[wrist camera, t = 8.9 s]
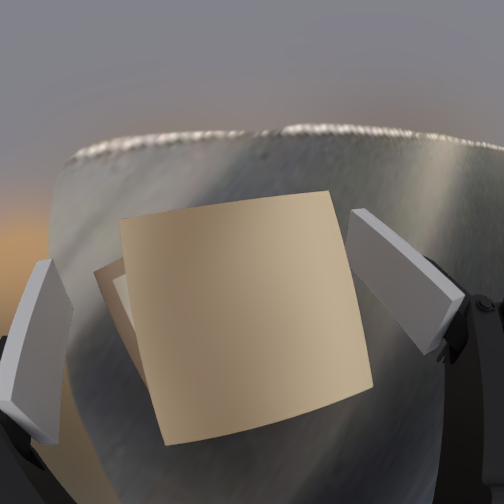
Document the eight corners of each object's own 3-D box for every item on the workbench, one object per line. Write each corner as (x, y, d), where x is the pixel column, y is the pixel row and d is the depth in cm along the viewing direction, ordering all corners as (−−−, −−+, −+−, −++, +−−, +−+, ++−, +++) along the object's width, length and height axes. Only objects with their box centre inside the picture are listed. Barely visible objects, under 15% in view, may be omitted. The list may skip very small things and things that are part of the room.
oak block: (243, 269, 19) (328, 190, 7) (261, 349, 18) (373, 386, 7) (162, 284, 18) (119, 219, 6) (179, 366, 17) (165, 445, 5)
